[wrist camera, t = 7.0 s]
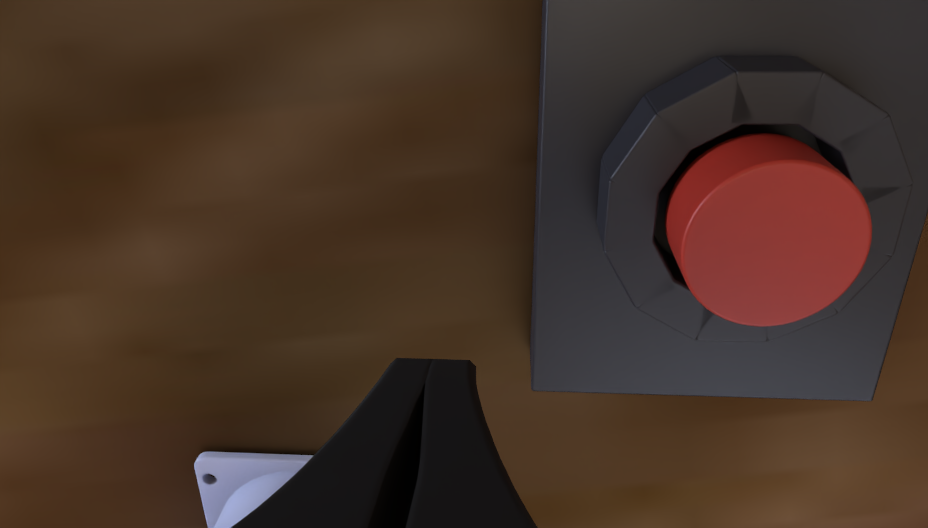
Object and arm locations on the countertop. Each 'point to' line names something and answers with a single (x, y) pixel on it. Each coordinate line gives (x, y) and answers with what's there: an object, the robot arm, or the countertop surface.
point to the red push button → (766, 230)
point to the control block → (677, 145)
